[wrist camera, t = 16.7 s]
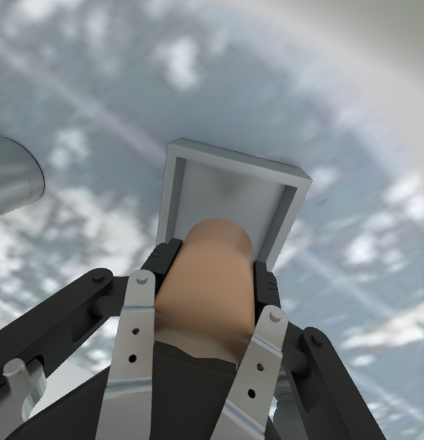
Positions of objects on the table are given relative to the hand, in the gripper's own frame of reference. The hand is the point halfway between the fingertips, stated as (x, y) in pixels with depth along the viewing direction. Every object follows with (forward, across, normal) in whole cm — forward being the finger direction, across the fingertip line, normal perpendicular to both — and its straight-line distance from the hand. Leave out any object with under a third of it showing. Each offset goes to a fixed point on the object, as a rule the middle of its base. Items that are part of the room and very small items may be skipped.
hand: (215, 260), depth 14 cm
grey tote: (+14, 0, +4) cm, 15 cm away
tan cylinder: (+1, 0, 0) cm, 1 cm away
